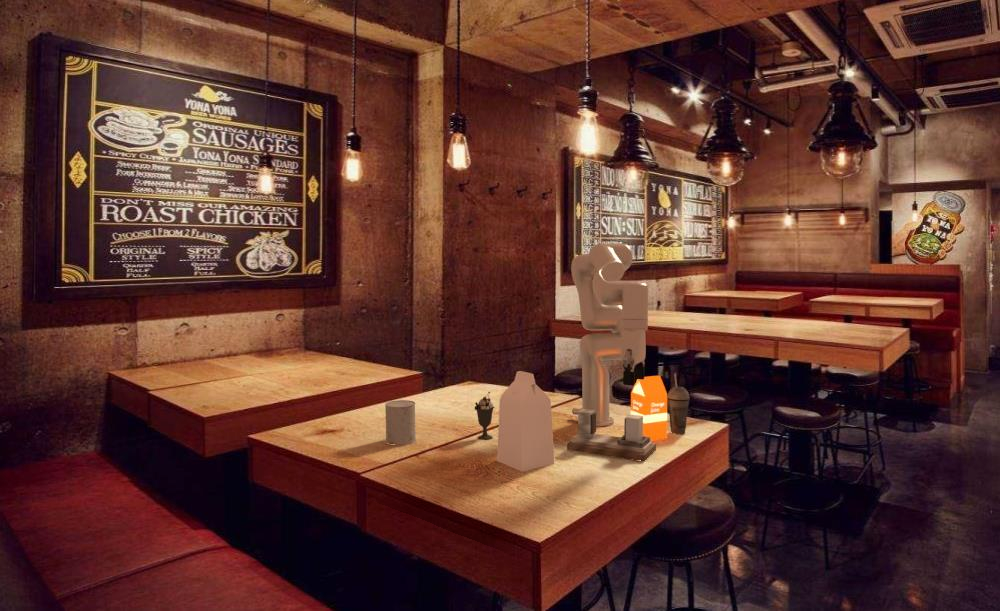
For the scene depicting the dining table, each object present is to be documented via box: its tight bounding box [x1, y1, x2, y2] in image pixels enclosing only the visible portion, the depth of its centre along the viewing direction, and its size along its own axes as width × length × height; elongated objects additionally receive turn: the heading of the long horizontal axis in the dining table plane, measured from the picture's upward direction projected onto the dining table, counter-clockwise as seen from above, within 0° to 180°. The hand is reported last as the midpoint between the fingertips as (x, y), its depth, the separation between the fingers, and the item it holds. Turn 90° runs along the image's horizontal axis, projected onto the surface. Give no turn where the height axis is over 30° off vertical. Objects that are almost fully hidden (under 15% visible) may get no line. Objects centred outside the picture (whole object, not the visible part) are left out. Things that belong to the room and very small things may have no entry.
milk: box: [496, 370, 555, 473], centre depth 181 cm, size 12×12×26 cm
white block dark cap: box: [623, 414, 643, 442], centre depth 189 cm, size 4×4×8 cm
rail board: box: [566, 409, 657, 462], centre depth 192 cm, size 24×12×11 cm, turn 61°
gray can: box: [384, 399, 417, 446], centre depth 204 cm, size 10×10×12 cm
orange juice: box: [630, 375, 668, 442], centre depth 205 cm, size 8×9×20 cm
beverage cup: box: [667, 372, 690, 435], centre depth 211 cm, size 7×7×20 cm
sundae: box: [474, 391, 496, 441], centre depth 207 cm, size 7×7×15 cm
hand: (633, 382), depth 188 cm, fingers open, 9 cm apart
